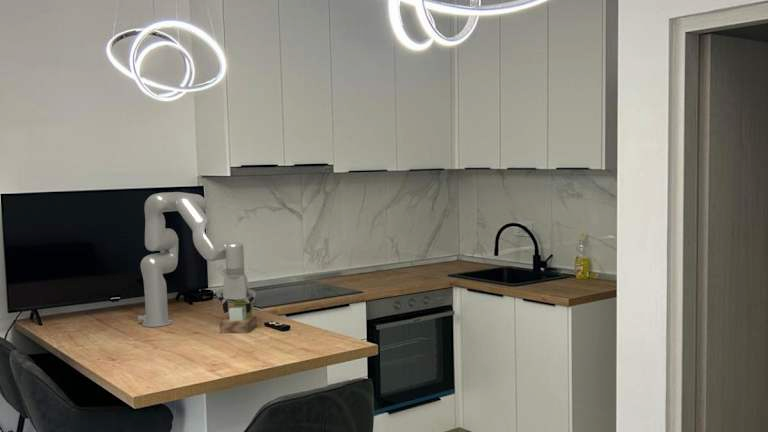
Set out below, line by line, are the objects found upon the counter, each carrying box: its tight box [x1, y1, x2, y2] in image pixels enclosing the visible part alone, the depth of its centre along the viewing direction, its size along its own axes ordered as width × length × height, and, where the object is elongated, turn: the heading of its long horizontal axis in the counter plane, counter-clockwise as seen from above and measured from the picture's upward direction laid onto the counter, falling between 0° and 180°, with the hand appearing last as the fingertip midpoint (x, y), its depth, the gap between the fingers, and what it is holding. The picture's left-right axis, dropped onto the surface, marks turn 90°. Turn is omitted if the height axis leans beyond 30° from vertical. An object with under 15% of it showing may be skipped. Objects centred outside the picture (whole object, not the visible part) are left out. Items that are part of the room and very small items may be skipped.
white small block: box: [228, 306, 246, 321], centre depth 309 cm, size 6×6×5 cm
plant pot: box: [232, 299, 255, 317], centre depth 330 cm, size 9×9×9 cm
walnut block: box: [219, 316, 257, 334], centre depth 309 cm, size 12×12×5 cm
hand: (237, 312), depth 309 cm, fingers open, 9 cm apart
